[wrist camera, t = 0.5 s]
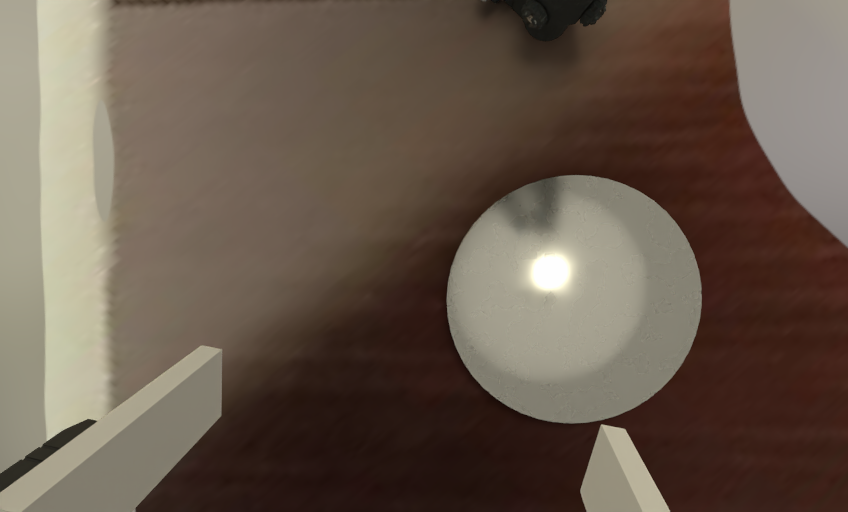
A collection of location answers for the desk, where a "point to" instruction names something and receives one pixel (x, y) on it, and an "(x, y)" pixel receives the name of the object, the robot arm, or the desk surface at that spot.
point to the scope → (555, 15)
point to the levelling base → (574, 299)
